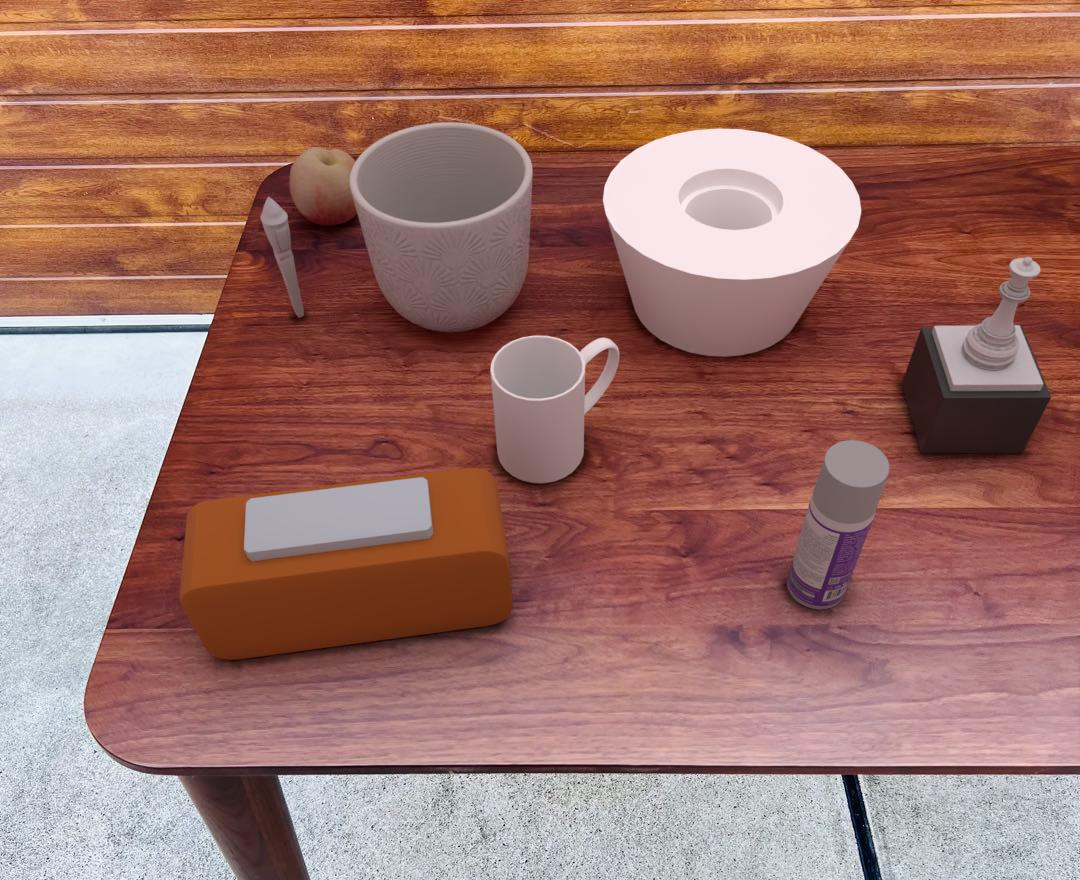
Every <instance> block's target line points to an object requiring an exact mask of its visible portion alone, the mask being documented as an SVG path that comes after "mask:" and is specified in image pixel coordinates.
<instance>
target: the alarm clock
mask: <svg viewBox="0 0 1080 880" xmlns="http://www.w3.org/2000/svg"><path fill="white" fill-rule="evenodd" d="M183 543H184V544H183V553H182V565H181V574H180V575H181V576H180V587H179V602H180V605H181V608H182V609H183V611H184V614H185V615H186V616H187V619H188V621H189V622H190V624H191V625H192V627H193V629H194V631H195V633H196V634H197V636H198V638H199V640H200V642H201V644H202V645H203V647H204V650H205V651H207V652H208V653H209V654H210V655H211V656H213V657H216V658H217V659H222V660H232V661H233V660H243V659H244V660H245V659H251V658H259V657H267V656H273V655H281V654H289V653H295V652H304V651H310V650H319V649H326V648H333V647H334V648H335V647H340V646H347V645H355V644H362V643H363V644H364V643H371V642H378V641H385V640H393V639H400V638H407V637H415V636H422V635H429V634H438V633H444V632H452V631H459V630H467V629H475V628H482V627H489V626H493V625H497V624H499V623H501V622H504V621H505V620H507V619H508V618H509V617H510V615H511V614H512V612H513V609H514V608H513V607H514V599H513V587H512V575H511V564H510V555H509V548H508V541H507V536H506V530H505V524H504V517H503V511H502V504H501V497H500V492H499V485H498V481H497V480H496V477H495V476H494V475H493V474H492V473H491V472H490V471H489V470H487V469H483V468H480V467H464V468H456V469H448V470H440V471H431V472H423V473H415V474H407V475H401V476H392V477H383V478H375V479H368V480H367V479H366V480H359V481H351V482H344V483H335V484H328V485H319V486H312V487H303V488H302V487H301V488H295V489H287V490H279V491H271V492H264V493H262V492H261V493H255V494H254V493H253V494H245V495H239V496H238V495H237V496H231V497H230V496H229V497H221V498H215V499H207V500H203V501H200V502H197V503H196V504H195V505H193V506H191V508H190V509H189V511H188V513H187V515H186V520H185V531H184V542H183Z"/></svg>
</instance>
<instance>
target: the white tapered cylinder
mask: <svg viewBox="0 0 1080 880" xmlns="http://www.w3.org/2000/svg"><path fill="white" fill-rule="evenodd" d="M849 177H850V176H848V175H847V174H846V173H845V171H844V170H843V169H842V168H841V167H840V166H838V165H837V164H836V163H835V162H833V161H832V160H831V159H830V158H829V157H828V156H825V155H824V154H822V153H821V152H819V151H816V150H815V149H814V148H811V147H810V146H807V145H805V144H803V143H800V142H797V141H796V140H792V139H790V138H787V137H783V136H780V135H775V134H772V133H768V132H763V131H755V130H749V129H740V128H707V129H694V130H690V131H684V132H679V133H673V134H670V135H667V136H664V137H660V138H657V139H654V140H652V141H650V142H647V143H646V144H644V145H642V146H639V147H638V148H636V149H634V150H633V151H631V152H630V153H629V154H627V155H626V156H625V157H623V158H622V159H621V160H620V161H619V162H618V163H617V165H615V167H614V168H613V169H612V170H611V171H610V173H609V176H608V178H607V180H606V182H605V184H604V189H603V194H602V195H603V196H602V203H603V207H604V211H605V216H606V219H607V223H608V226H609V229H610V230H609V231H610V232H611V233H610V234H611V236H612V239H613V243H614V246H615V249H616V252H617V256H618V259H619V262H620V265H621V270H622V272H623V275H624V279H625V282H626V285H627V289H628V292H629V296H630V299H631V302H632V305H633V309H634V311H635V314H636V315H637V318H638V319H639V321H640V323H641V324H642V325H643V326H644V328H646V330H647V331H648V332H650V333H651V334H652V335H653V336H655V337H656V338H657V339H658V340H660V341H662V342H663V343H666V344H668V345H669V346H671V347H673V348H676V349H679V350H681V351H685V352H688V353H691V354H696V355H702V356H708V357H738V356H744V355H748V354H753V353H757V352H760V351H763V350H765V349H768V348H770V347H772V346H773V345H775V344H777V343H779V342H780V341H782V340H784V339H785V338H786V336H787V335H788V334H790V333H791V331H792V330H793V329H794V328H795V326H796V324H797V323H798V322H799V320H800V318H801V316H802V315H803V313H804V312H805V311H806V309H807V307H808V306H809V305H810V302H811V301H812V300H813V298H814V296H815V295H816V294H817V292H818V290H819V289H820V287H821V286H822V285H823V283H824V281H825V279H826V278H827V277H828V275H829V274H830V272H831V270H832V269H833V267H834V266H835V264H836V263H837V261H838V260H839V258H840V257H841V255H842V254H843V252H844V250H845V249H846V247H847V246H848V244H849V243H850V241H851V239H852V238H853V236H854V234H855V233H856V231H857V230H858V228H859V224H860V220H861V216H862V206H861V198H860V195H859V193H858V190H857V188H856V186H855V185H854V182H853V181H852V180H851V179H850V178H849Z"/></svg>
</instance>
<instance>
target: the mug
mask: <svg viewBox="0 0 1080 880" xmlns="http://www.w3.org/2000/svg"><path fill="white" fill-rule="evenodd" d="M607 349H608V355H607V360H606V362H605V365H604V367H603V370H602V372H601V373H600V376H599V377H598V379H597V380H596V381H595V383H594V384H593V386H592V387H591V388H590V389H589V390H588V392H587V393H586V365H587V364H588V363H589V362H590V361H591V360H592V359H594V357H596V356H597V355H598V354H600V353H601V352H603V351H605V350H607ZM620 357H621V356H620V350H619V346H617V344H616V343H615V342H614V340H611V338H607V337H599V338H597V339H594V340H592V341H591V342H590V343H588V344H587V345H586V346H584V347H583V348H582V349H581V350H580V351H579V349H578V348H577V347H576V346H574V345H573V344H571V343H570V342H568V341H566V340H564V339H561V338H559V337H555V336H549V335H530V336H529V335H528V336H523V337H520V338H517V339H513V340H511V341H509V342H507V343H506V344H505V345H503V346H502V347H501V348H500V349H499V350H498V351H497V352H496V353H495V355H494V356H493V359H492V360H491V362H490V370H489V371H490V383H491V393H492V394H491V395H492V404H493V405H492V407H493V419H494V428H495V429H494V430H495V431H494V432H495V442H496V443H495V444H496V451H497V452H496V453H497V457H498V461H499V463H500V464H501V466H502V467H503V469H504V470H505V471H506V472H507V473H508V474H509V475H511V476H512V477H514V478H516V479H517V480H520V481H522V482H527V483H531V484H548V483H553V482H557V481H560V480H562V479H565V478H566V477H568V476H570V475H571V474H573V473H574V471H575V470H576V469H577V468H578V466H580V465H581V462H582V460H583V457H584V454H585V453H584V452H585V451H584V450H585V415H586V414H587V413H588V412H589V411H590V410H591V409H592V408H593V407H594V406H595V405H596V403H597V402H598V401H599V400H600V399H601V397H602V396H603V395H604V393H606V391H607V389H608V388H609V387H610V385H611V383H612V382H613V380H614V378H615V376H616V373H617V370H618V367H619V364H620Z"/></svg>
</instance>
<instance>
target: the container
mask: <svg viewBox="0 0 1080 880" xmlns="http://www.w3.org/2000/svg"><path fill="white" fill-rule="evenodd" d="M889 474H890V462H889V460H888V457H887V456H886V455H885V453H884V452H883V451H882V450H880V448H878V447H877V446H875V445H873V444H871V443H869V442H866V441H863V440H856V439H852V440H851V439H849V440H842V441H839V442H837V443H834V444H833V445H831V446H830V447H829V449H827V451H826V453H825V455H824V458H823V462H822V464H821V467H820V470H819V473H818V476H817V479H816V481H815V484H814V488H813V491H812V493H811V497H810V499H809V503H808V506H807V510H806V514H805V516H804V520H803V524H802V526H801V529H800V533H799V536H798V537H799V538H798V541H797V544H796V547H795V551H794V553H793V554H794V555H793V558H792V561H791V564H790V568H789V571H788V576H787V580H786V586H787V590H788V592H789V594H790V595H791V597H792V598H793V599H794V600H795V601H796V602H797V603H799V604H800V605H802V606H804V607H806V608H809V609H813V610H828V609H831V608H833V607H835V606H837V605H838V604H839V603H841V602H842V600H843V598H844V597H845V594H846V592H847V589H848V586H849V584H850V581H851V579H852V576H853V574H854V571H855V568H856V565H857V563H858V560H859V558H860V555H861V552H862V550H863V547H864V544H865V542H866V539H867V537H868V534H869V532H870V529H871V526H872V524H873V521H874V519H875V515H876V512H877V509H878V506H879V503H880V500H881V497H882V495H883V492H884V488H885V485H886V484H887V483H886V482H887V479H888V477H889Z"/></svg>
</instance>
